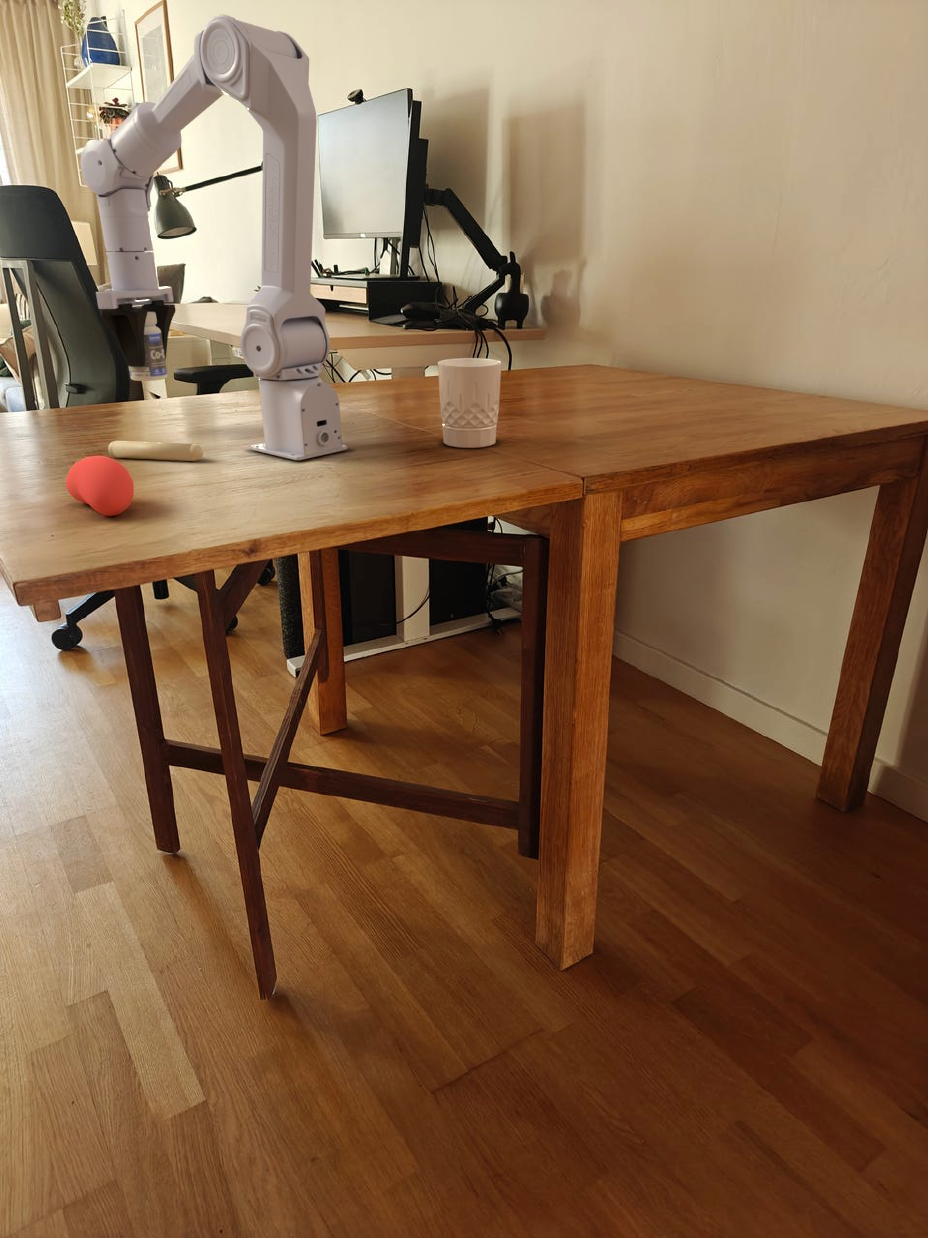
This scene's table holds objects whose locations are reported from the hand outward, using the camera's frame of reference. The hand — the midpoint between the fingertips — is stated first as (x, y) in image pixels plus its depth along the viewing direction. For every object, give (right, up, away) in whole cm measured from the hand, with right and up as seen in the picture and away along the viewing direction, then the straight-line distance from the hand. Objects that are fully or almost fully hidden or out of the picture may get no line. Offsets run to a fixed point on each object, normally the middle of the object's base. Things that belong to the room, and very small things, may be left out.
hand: (147, 363), depth 111 cm
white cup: (+43, -12, -4) cm, 45 cm away
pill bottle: (0, -2, +1) cm, 2 cm away
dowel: (+6, -15, -11) cm, 19 cm away
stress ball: (+7, -24, -30) cm, 39 cm away
